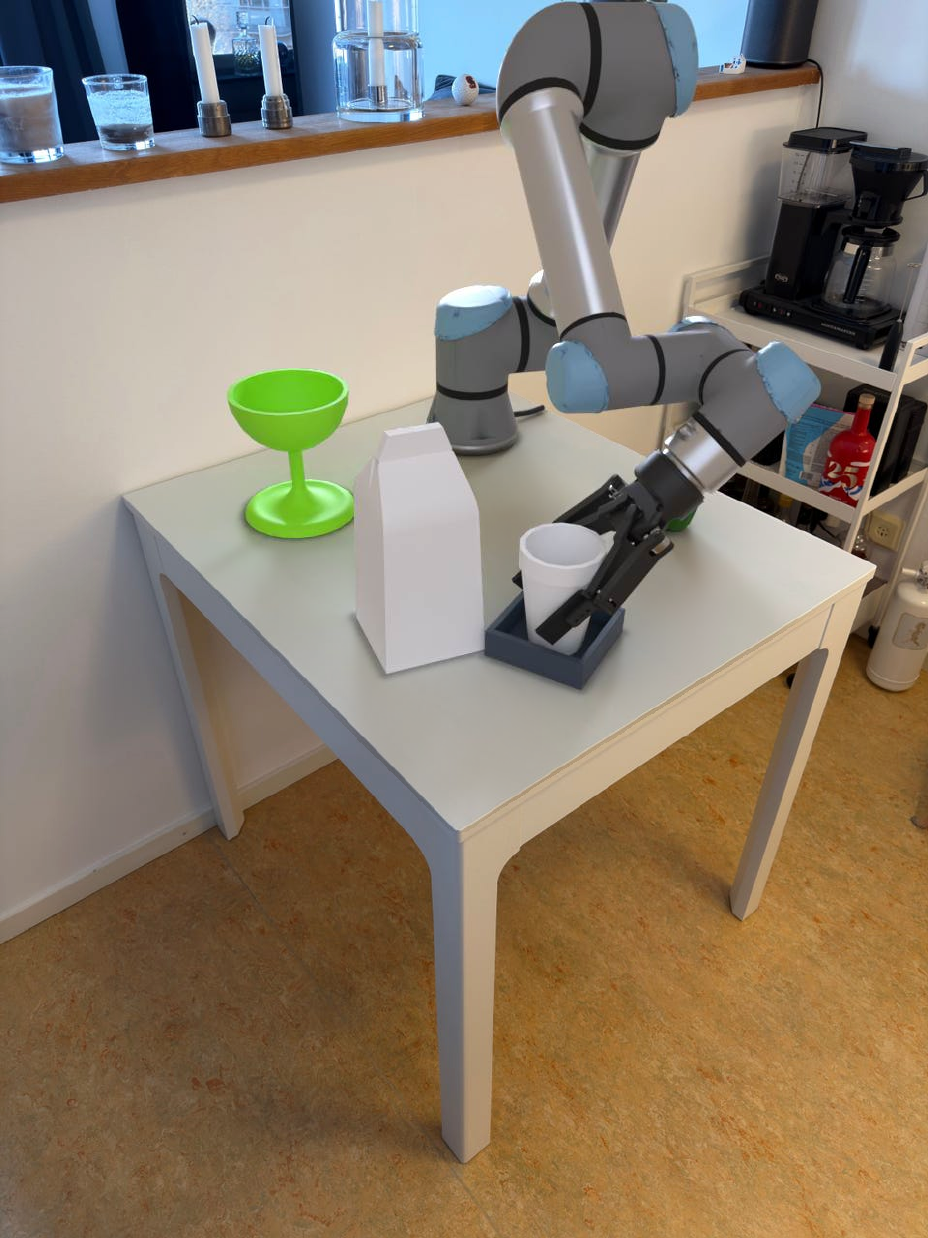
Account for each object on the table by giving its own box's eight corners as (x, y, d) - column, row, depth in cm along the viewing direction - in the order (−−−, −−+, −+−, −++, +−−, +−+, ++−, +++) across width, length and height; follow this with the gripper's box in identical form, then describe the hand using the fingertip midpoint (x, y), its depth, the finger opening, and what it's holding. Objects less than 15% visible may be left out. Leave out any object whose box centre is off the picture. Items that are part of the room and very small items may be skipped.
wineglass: (298, 551, 120) (283, 426, 110) (221, 512, 128) (201, 393, 118) (380, 505, 131) (373, 387, 120) (304, 473, 139) (292, 359, 128)
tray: (531, 602, 111) (532, 579, 109) (622, 632, 107) (625, 608, 105) (484, 655, 103) (484, 630, 101) (581, 690, 98) (583, 665, 96)
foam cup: (536, 607, 110) (542, 515, 102) (607, 630, 106) (619, 535, 98) (501, 650, 103) (505, 554, 95) (576, 675, 99) (586, 578, 92)
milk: (386, 674, 100) (374, 462, 85) (356, 617, 109) (340, 415, 93) (484, 649, 104) (490, 442, 88) (448, 596, 112) (447, 399, 97)
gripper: (626, 408, 101) (486, 543, 108) (709, 501, 84) (536, 655, 90) (663, 447, 105) (526, 575, 112) (750, 544, 88) (582, 688, 95)
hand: (531, 611), depth 101 cm, fingers closed on foam cup, 9 cm apart
